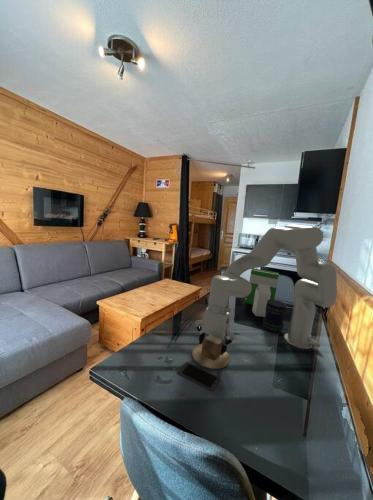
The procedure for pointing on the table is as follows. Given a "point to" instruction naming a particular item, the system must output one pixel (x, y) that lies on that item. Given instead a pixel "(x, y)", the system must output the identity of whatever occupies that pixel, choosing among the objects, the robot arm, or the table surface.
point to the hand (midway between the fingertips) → (211, 347)
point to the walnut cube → (211, 347)
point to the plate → (206, 362)
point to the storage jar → (274, 316)
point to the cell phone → (199, 376)
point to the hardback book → (262, 282)
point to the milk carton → (261, 300)
